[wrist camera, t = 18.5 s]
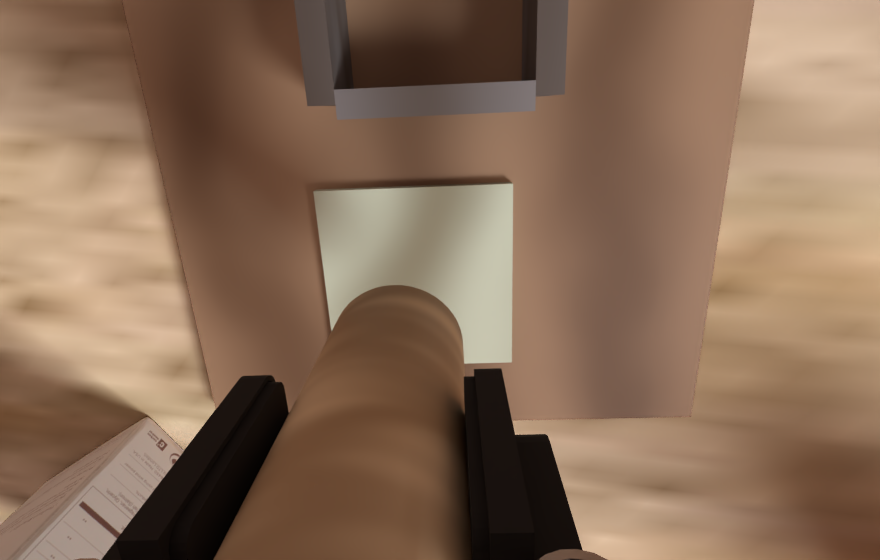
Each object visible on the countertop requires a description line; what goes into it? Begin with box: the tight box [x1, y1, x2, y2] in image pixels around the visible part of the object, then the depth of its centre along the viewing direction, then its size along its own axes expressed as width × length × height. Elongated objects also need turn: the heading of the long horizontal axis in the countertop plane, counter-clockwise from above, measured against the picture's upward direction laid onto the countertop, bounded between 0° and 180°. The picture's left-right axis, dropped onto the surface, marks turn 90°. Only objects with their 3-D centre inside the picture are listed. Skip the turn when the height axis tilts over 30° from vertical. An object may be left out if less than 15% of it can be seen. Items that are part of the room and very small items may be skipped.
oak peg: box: [213, 285, 472, 560], centre depth 8 cm, size 4×4×11 cm
